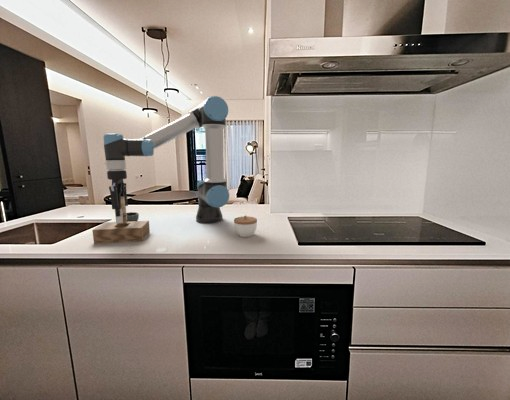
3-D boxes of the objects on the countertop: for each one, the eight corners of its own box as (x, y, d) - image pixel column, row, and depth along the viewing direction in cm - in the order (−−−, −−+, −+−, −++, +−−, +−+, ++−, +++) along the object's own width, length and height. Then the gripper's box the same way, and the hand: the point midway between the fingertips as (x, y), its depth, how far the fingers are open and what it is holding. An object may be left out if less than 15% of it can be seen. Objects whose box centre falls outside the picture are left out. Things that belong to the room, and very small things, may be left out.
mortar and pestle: (143, 225, 137) (141, 203, 135) (131, 230, 128) (129, 206, 126) (124, 224, 139) (122, 202, 137) (112, 229, 130) (109, 206, 128)
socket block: (149, 232, 124) (148, 220, 123) (142, 240, 112) (141, 227, 111) (106, 234, 121) (104, 222, 120) (94, 243, 110) (92, 229, 109)
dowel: (128, 225, 118) (125, 196, 116) (125, 228, 114) (122, 197, 112) (119, 226, 118) (116, 196, 115) (115, 228, 114) (112, 197, 111)
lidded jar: (261, 234, 120) (261, 215, 118) (245, 240, 112) (245, 220, 110) (245, 230, 127) (245, 212, 125) (229, 235, 119) (229, 216, 117)
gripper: (115, 169, 119) (120, 217, 123) (98, 171, 102) (104, 227, 107) (132, 168, 120) (136, 216, 124) (118, 171, 103) (123, 226, 108)
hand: (121, 221), depth 115 cm, fingers closed on dowel, 4 cm apart
